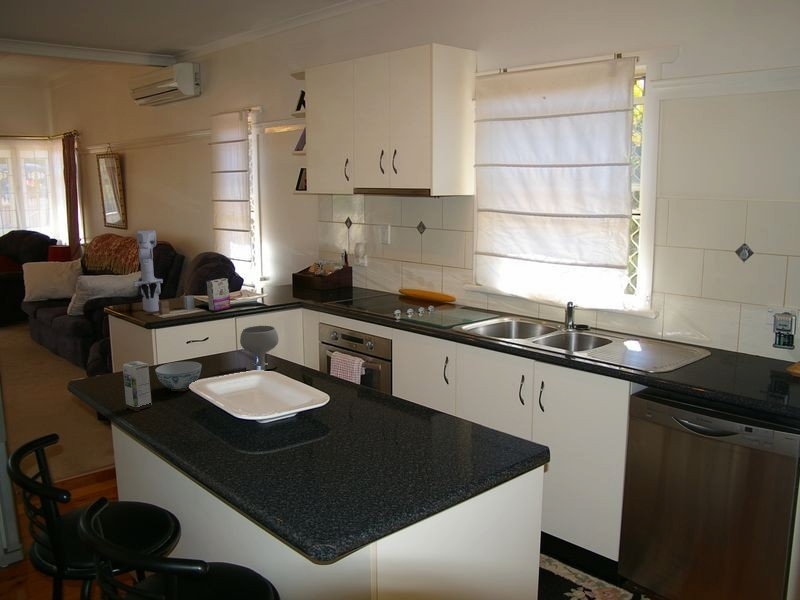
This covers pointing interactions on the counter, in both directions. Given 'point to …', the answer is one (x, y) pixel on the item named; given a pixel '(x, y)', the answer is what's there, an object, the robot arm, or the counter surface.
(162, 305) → the walnut block
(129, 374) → the syrup box
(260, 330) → the chalice
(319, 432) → the counter surface
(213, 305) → the candy bar box
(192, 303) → the slate blue block
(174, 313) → the birch board
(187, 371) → the chinaware
